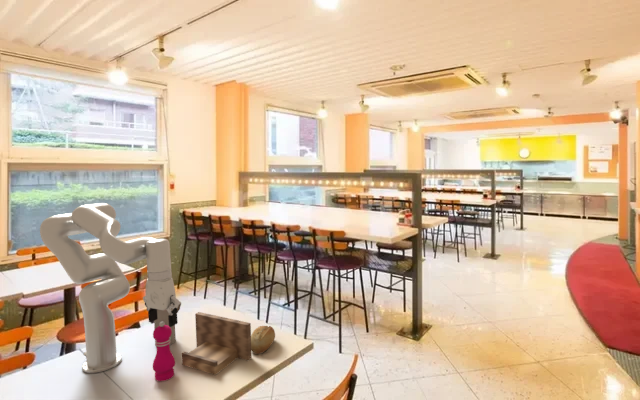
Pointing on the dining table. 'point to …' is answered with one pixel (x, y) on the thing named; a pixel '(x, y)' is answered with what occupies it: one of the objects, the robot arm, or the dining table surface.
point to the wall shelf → (218, 343)
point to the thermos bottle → (163, 317)
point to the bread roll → (262, 339)
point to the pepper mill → (163, 353)
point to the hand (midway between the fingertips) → (163, 322)
